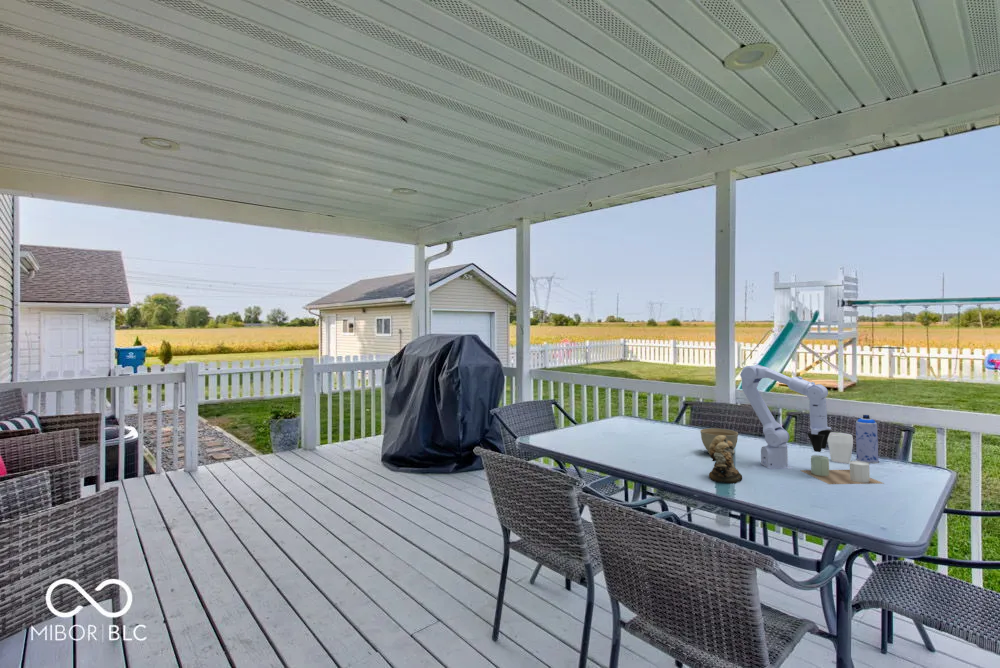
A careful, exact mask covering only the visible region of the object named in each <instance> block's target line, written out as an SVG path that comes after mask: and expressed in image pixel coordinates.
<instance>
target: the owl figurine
mask: <svg viewBox="0 0 1000 668" xmlns="http://www.w3.org/2000/svg"><path fill="white" fill-rule="evenodd" d="M709 449H710V454H709V455H710V458H711V459H712V462H714V464H713V467H712V470H711V471H710V472H709V473H708V478H709V480H711V481H713V482H716V483H725V484H729V485H730V484H731V485H732V484H733V483H734V484H737V483H740V482H741V481H742V480H743V474H741V473H740V472H739V470H738V469H737V468H736V466H735V464H734V462H735V461H734V456H735V453H736V452H735V448H734V447H733V443H732V442H731V441H727V438H726V436H724V435H719V436H716V437H715V438H714V439H713V440H712V443H711V444H710V446H709Z"/></svg>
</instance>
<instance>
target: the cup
mask: <svg viewBox="0 0 1000 668" xmlns="http://www.w3.org/2000/svg"><path fill="white" fill-rule="evenodd" d="M853 444H854V439H853V435H852V434H851V433H845V432H835V431H834V432H830V434H829V436H828V439H827V445H828V450H829V454H830V460H831V461H832V462H834V463H840V464H848V465H850V461H852V453H853V447H854V445H853Z"/></svg>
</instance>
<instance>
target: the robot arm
mask: <svg viewBox="0 0 1000 668" xmlns="http://www.w3.org/2000/svg"><path fill="white" fill-rule="evenodd" d="M739 376H740V378H741V389H742V391H743V393H744V395H745V397H746V398H747V400H748V402H749V404H750V405H751V407H752V409H753V411H754V413H755V415H756V416H757V418H758V419H759V422H760V423H761V425H762V427H763V428H762V432H763V434H764V441H765V443H766V444H767V445H763V446H761V448H760V465H762V466H764V467H765V468H768V469H770V470H773V469H774V470H779V469H783V470H784V469H785V470H786V469H793V467H792V466H790V465H789V463H788V462H789V459H788V457H789V456H788V454H789V453H788V444H787V443H788V442H789V441H790V434H789V432H788V431H787V430H786V429H784V428H783V427H782V425H781V424H780V423H779V422H778V421H777V420H776V419H775V417H774V416H773V414H772V412H771V410H770V409H769V407H768V406H767V403H766V402H765V400H764V398H763V397H762V395H761V393H760V391H759V390H758V389H757V388H758V386H759V383H760V382H761V380H762V379H770V380H773V381H776V382H778V383H782V384H784V385H786V386H787V387H788V389H789V390H791V391H793V392H795V393H798V394H800V395H803V396H805V397H807V398H808V401H809V402H808V403H809V404H808V406H809V430H810V432H807V434H806V435H807V437H808V438H809V441H810V442H811V445H812V450H813V452H817V453H821V452H822V449H826V448H827V445H828V436H829V434H830V433H832V432H831V430H832V426H829V425H828V408H827V397H828V394H829V392H828V391H829V390H828V389H827V387H826V386H824V385H822V384H821V383H818V384H816V383H815V382H814V381H808V380H805V379H803V376H793V377H790V376H788V375H785V374H784V373H780V372H778V371H776V370H775V369H772V368H770V367H767V366H763V365H761V364H754V365H746V366H744V367H743V368H742V370H741V372H740V373H739Z"/></svg>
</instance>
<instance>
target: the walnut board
mask: <svg viewBox="0 0 1000 668" xmlns="http://www.w3.org/2000/svg"><path fill="white" fill-rule="evenodd" d="M800 471H801V473H802V472H803V473H804V474H806V475H808V476H810V477H813V478H815V479H817V480H819V481H821V482H823V483H825V484H827V485H873V484H874V485H876V484H880V485H881V484H883V485H885V482H882V481H879V480H877V479H874V478H873V477H870V482H869V483H861V482H855V481H853V480H850V469H829V475H828V476H820V475H814V474H812V473H811V469H808V470H807V469H805V470H804V469H803V470H801V469H800Z"/></svg>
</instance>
